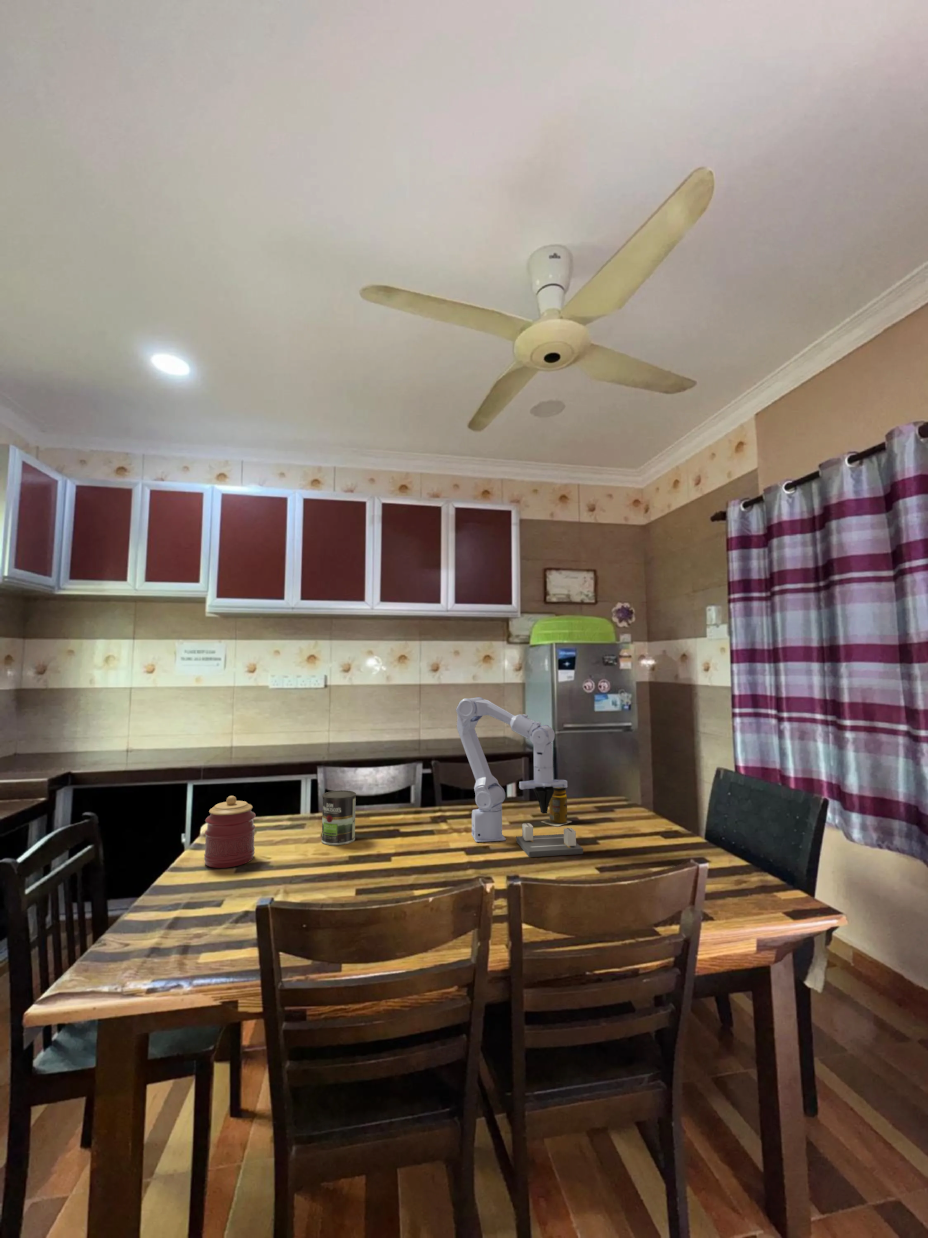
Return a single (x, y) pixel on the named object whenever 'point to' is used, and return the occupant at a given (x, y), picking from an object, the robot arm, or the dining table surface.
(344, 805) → the coffee can
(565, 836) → the fader near
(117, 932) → the dining table surface
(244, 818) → the canister
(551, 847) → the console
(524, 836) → the fader far
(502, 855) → the dining table surface
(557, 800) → the condiment
